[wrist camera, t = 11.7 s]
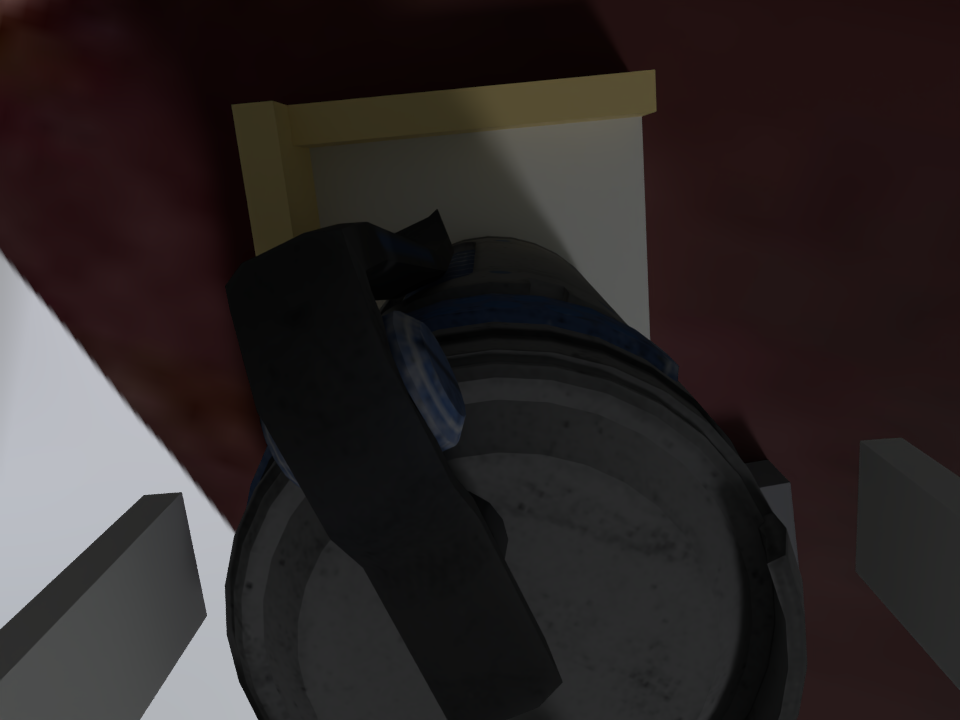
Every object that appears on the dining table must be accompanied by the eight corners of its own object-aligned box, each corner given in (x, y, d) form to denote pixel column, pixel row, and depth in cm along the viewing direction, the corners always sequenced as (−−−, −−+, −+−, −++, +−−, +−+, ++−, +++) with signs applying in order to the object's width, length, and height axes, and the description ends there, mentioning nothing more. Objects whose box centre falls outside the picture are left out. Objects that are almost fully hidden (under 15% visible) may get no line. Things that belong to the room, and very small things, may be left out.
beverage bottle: (527, 140, 32) (662, 50, 8) (646, 412, 35) (1021, 973, 11) (314, 244, 33) (-159, 454, 9) (447, 499, 36) (370, 1188, 12)
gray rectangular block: (683, 472, 37) (700, 497, 34) (765, 457, 37) (790, 482, 34) (698, 580, 38) (716, 614, 36) (777, 567, 38) (801, 600, 35)
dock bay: (276, 116, 33) (231, 105, 27) (634, 81, 32) (667, 62, 27) (339, 536, 38) (312, 603, 32) (651, 511, 37) (682, 574, 31)
